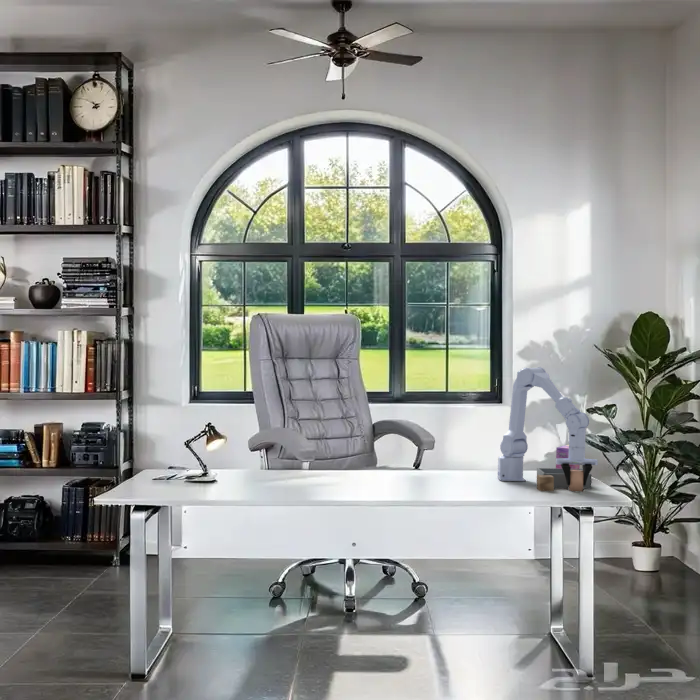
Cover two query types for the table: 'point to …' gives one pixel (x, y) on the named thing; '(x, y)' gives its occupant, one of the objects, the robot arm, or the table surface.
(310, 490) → the table surface
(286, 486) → the table surface
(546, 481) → the walnut cube
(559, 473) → the tote
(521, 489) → the table surface
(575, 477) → the terracotta cylinder
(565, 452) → the box
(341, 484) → the table surface
